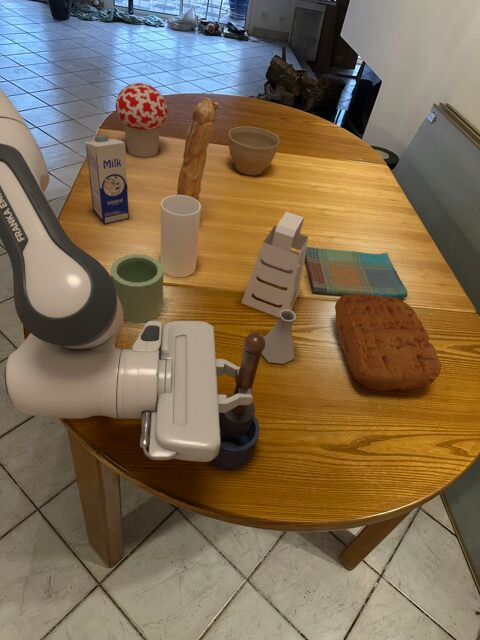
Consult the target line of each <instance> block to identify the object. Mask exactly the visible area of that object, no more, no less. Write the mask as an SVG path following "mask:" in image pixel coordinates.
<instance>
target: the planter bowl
mask: <svg viewBox="0 0 480 640" xmlns="http://www.w3.org/2000/svg"><path fill="white" fill-rule="evenodd" d="M279 145H280V139H279V137H278V136H277V135H276V134H275V133H274V132H272V131H269V130H267V129H264V128H261V127H256V126H237V127H233V128H231V129H230V130H229V131H228V149H229V150H228V151H229V154H230V157H231V159H232V161H233V164H234V168H235V170H236V171H237V172H238V173H240V174H243V175H245V176H259V175H261V174H263V173H264V170H265V169H266V168H268V166H269V165H270V164H271V162H273V160H274V158H275V157H276V153H277V150H278V147H279Z"/></svg>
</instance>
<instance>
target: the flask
mask: <svg viewBox="0 0 480 640" xmlns="http://www.w3.org/2000/svg"><path fill="white" fill-rule="evenodd" d="M296 321H297V315H296V313H295V312H294V311H293V310H292V309H291V310H288V309H284V310H281V311H279V317H278V319H277V321H276V323H275V325H274V326H273V327H272V328H271V329H270V331H268V333H266V335H265V336H263V337H264V339H265V348H264V350H263V351H262V353H261V356H263V358H265V360H266V361H267V362H268V363H273V364H282V365H284V364H286V363H288V362H291V361H293V360H295V347H294V340H293V324H294V322H296Z"/></svg>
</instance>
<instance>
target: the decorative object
mask: <svg viewBox="0 0 480 640" xmlns="http://www.w3.org/2000/svg"><path fill="white" fill-rule="evenodd" d="M115 112H116V115H117V118H118V119H119V120H120V122H121V123H122V124H123V125H124V135H125V144H126V148H127V152H128V153H129V155H131V156H134V157H138V158H139V157H140V158H151V157H155V156H156V155H157V154H158V151H159V143H160V133H161V132H160V128H162V126H163V125H164V124H165V123H166V121H167V118H168V104H167V102H166V99H165V98H164V96H163V95H162V94H161V92H160V91H159V90H158V89H157V88H155V87H154V86H152V85H150V84H148V83H141V82H134V83H130V84H128V85H126V86H125V87H124V88H122V89H121V90H120V91H119V93H118V95H117V96H116V99H115Z"/></svg>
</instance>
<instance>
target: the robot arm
mask: <svg viewBox="0 0 480 640" xmlns="http://www.w3.org/2000/svg"><path fill="white" fill-rule="evenodd" d="M50 178H51V177H50V173H49V170H48V167H47V163H46V161H45V158H44V155H43V153H42V151H41V148H40V146H39V144H38V142H37V140H36V138H35V137H34V134H33V133H32V131H31V129H30V127H29V126H28V125H27V122H26V121H25V119H24V117H23V116H22V115H21V113H20V112H19V110H18V109H17V108H16V106H15V104H14V103H13V102H12V101H11V99H10V98H9V96H7V94H6V93H5V92H4V91H3V89H2V88H1V87H0V240H1V243H2V244H3V247H4V249H5V251H6V253H7V255H8V258H9V261H10V264H11V268H12V277H13V278H12V279H13V282H12V283H13V284H12V285H13V302H14V307H15V311H16V314H17V317H18V318H19V321H20V323H21V324H22V325H23V326H24V328H25V329H26V330H27V331H28V332H29V334H28V336H27V337H26V338H25V340H23V342H22V343H21V344H20V345H19V347H17V348H16V349H15V350H14V351H12V352H11V353H10V354H9V355H8V357H7V359H6V362H5V367H4V386H5V390H6V394H7V396H8V398H9V400H10V403H11V404H12V405H13V406H14V407H15V408H16V410H18V411H19V412H21V413H23V414H25V415H29V416H34V417H40V418H49V419H67V420H68V419H69V420H70V419H72V420H73V419H74V420H77V419H78V420H81V419H87V418H91V417H97V416H100V417H101V416H103V417H107V418H111V419H115V420H141V423H140V429H141V432H140V437H139V447H140V449H142V452H143V454H144V455H145V456H146V457H147V458H148V459H150V460H153V461H168V460H169V461H170V460H172V459H173V460H180V461H187V462H188V461H189V462H197V463H198V462H199V463H207V462H208V463H209V462H212V461H211V460H213V459H214V458H215V457H216V456H217V455H218V453H219V449H220V425H219V413H226V412H228V411H229V410H231V409H233V408H235V407H236V406H238V405H250V404H252V402H253V399H254V398H253V390H251V389H250V388H246V389H245V388H239V390H238V394H236V395H233V394H232V395H233V396H231V397H229V398H227V397H228V396H227V394H224V393H223V394H222V393H221V394H219V393H218V392H219V391H218V390H219V389H218V378H217V377H223V375H226V376H229V377H232V378H233V379H234V381H235V383H236V382H237V377H238V373H239V369H240V365H238V366H237V365H236V364H234V363H232V362H230V361H228V360H226V359H225V358H216V340H215V328H214V325H212V324H210V323H209V322H207V321H202V320H173V321H169V322H167V323H165V324H164V325H163V324H162V322H161V321H158V320H149V321H146V323H145V324H144V326H143V328H142V330H141V332H140V333H139V334H138V337H137V338H136V340H135V341H134V343H133V344H132V346H131V348H118V347H117V345H118V343H119V338H120V335H121V331H122V329H123V325H124V312H123V307H122V304H121V302H120V300H119V298H118V296H117V294H116V290H115V286H114V283H113V280H112V278H111V274H110V273H109V272H108V270H107V268H105V267H104V265H102V263H100V262H99V261H98V260H97V259H96V258H94V257H93V256H92V255H90V254H89V253H88V252H86V251H84V250H83V249H82V248H80V247H79V246H78V245H77V244H75V243H74V242H73V241H72V240H71V239H70V237H69V236H68V235H67V233H66V231H65V229H64V228H63V226H62V224H61V222H60V220H59V219H58V217H57V214H56V213H55V211H54V210H53V208H52V206H51V204H50V203H49V201H48V199H47V197H46V195H45V191H46V190H47V188H48V186H49V183H50Z"/></svg>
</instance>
